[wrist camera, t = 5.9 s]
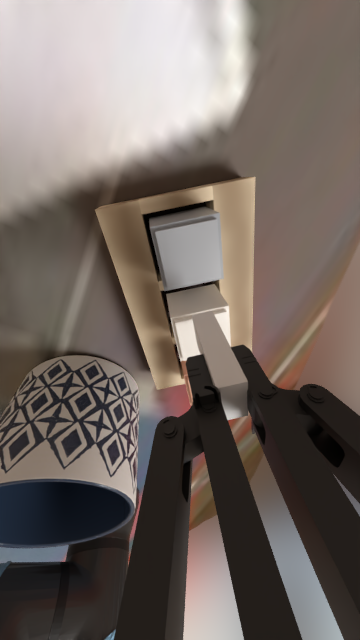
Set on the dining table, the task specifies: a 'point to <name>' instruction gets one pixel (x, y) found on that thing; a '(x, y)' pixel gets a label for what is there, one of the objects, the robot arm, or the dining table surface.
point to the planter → (68, 453)
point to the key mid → (191, 304)
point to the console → (145, 281)
